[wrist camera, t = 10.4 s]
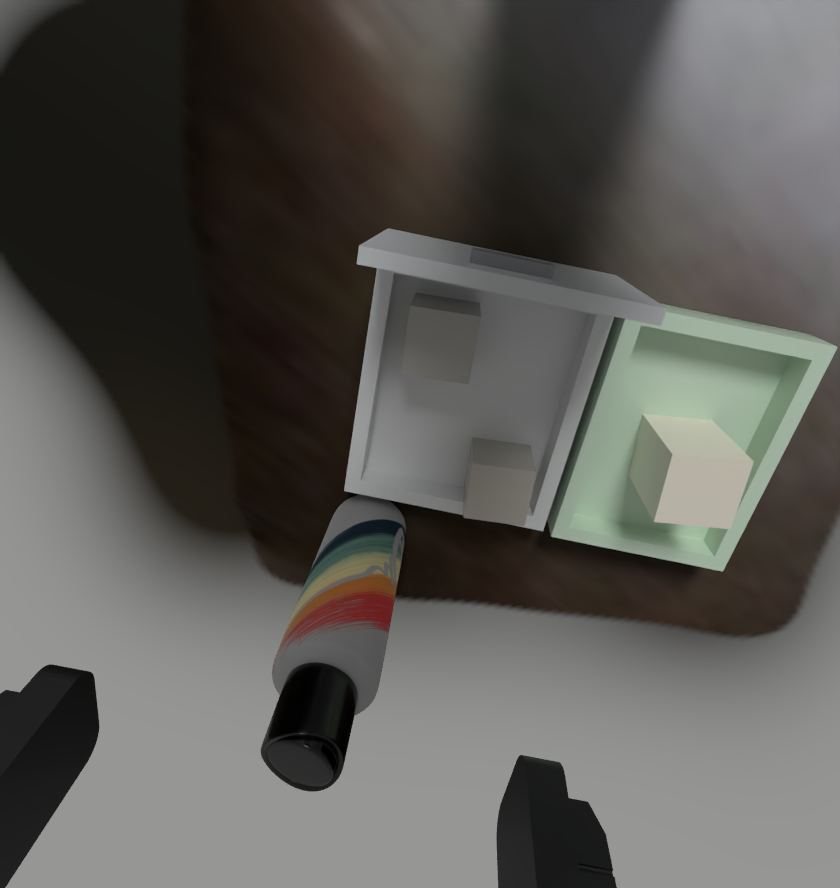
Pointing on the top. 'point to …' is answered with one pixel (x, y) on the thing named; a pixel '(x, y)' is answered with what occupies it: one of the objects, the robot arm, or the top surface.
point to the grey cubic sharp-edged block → (441, 338)
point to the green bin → (686, 396)
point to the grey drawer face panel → (509, 275)
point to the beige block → (688, 471)
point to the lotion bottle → (335, 643)
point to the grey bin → (470, 396)
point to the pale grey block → (499, 481)
